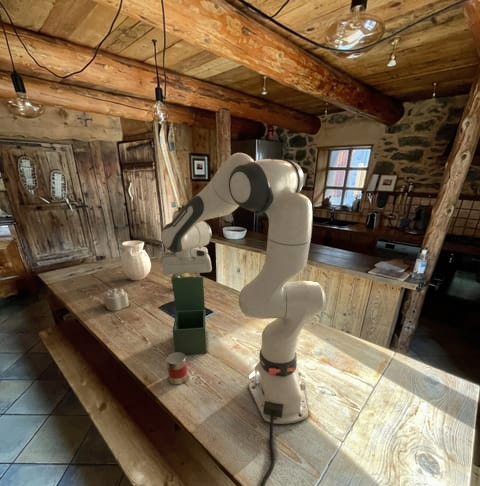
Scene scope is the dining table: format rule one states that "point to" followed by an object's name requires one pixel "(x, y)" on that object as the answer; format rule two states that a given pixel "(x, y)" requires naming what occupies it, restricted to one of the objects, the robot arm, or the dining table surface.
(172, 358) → the can
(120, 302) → the lumpy-topped squat cylinder
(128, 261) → the pitcher
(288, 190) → the robot arm
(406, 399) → the dining table surface
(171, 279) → the handbell
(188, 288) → the lid
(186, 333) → the chest
